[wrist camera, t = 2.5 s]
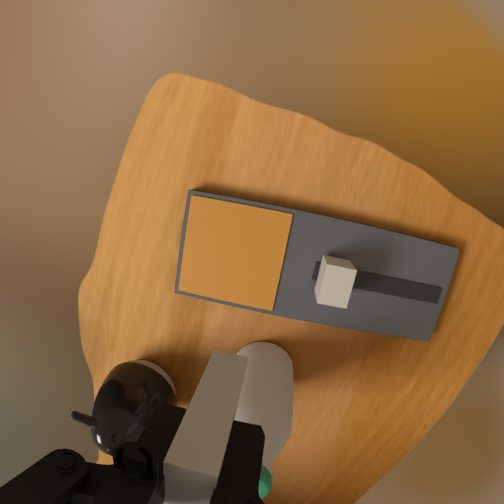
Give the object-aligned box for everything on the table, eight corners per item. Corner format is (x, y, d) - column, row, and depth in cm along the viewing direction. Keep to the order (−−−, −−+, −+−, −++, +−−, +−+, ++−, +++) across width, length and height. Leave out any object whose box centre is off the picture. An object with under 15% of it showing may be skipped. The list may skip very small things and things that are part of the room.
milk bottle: (241, 332, 39) (202, 450, 20) (301, 348, 39) (305, 473, 19) (226, 380, 41) (188, 497, 21) (282, 395, 41) (273, 518, 21)
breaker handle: (340, 295, 35) (346, 308, 31) (314, 290, 35) (317, 303, 31) (349, 260, 34) (357, 270, 30) (322, 254, 34) (327, 264, 30)
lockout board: (425, 335, 37) (430, 341, 35) (178, 288, 39) (174, 293, 37) (454, 246, 34) (460, 249, 32) (192, 189, 36) (187, 189, 34)
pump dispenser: (135, 334, 41) (76, 396, 26) (197, 379, 41) (161, 457, 27) (109, 376, 43) (57, 437, 29) (164, 417, 44) (127, 487, 29)
